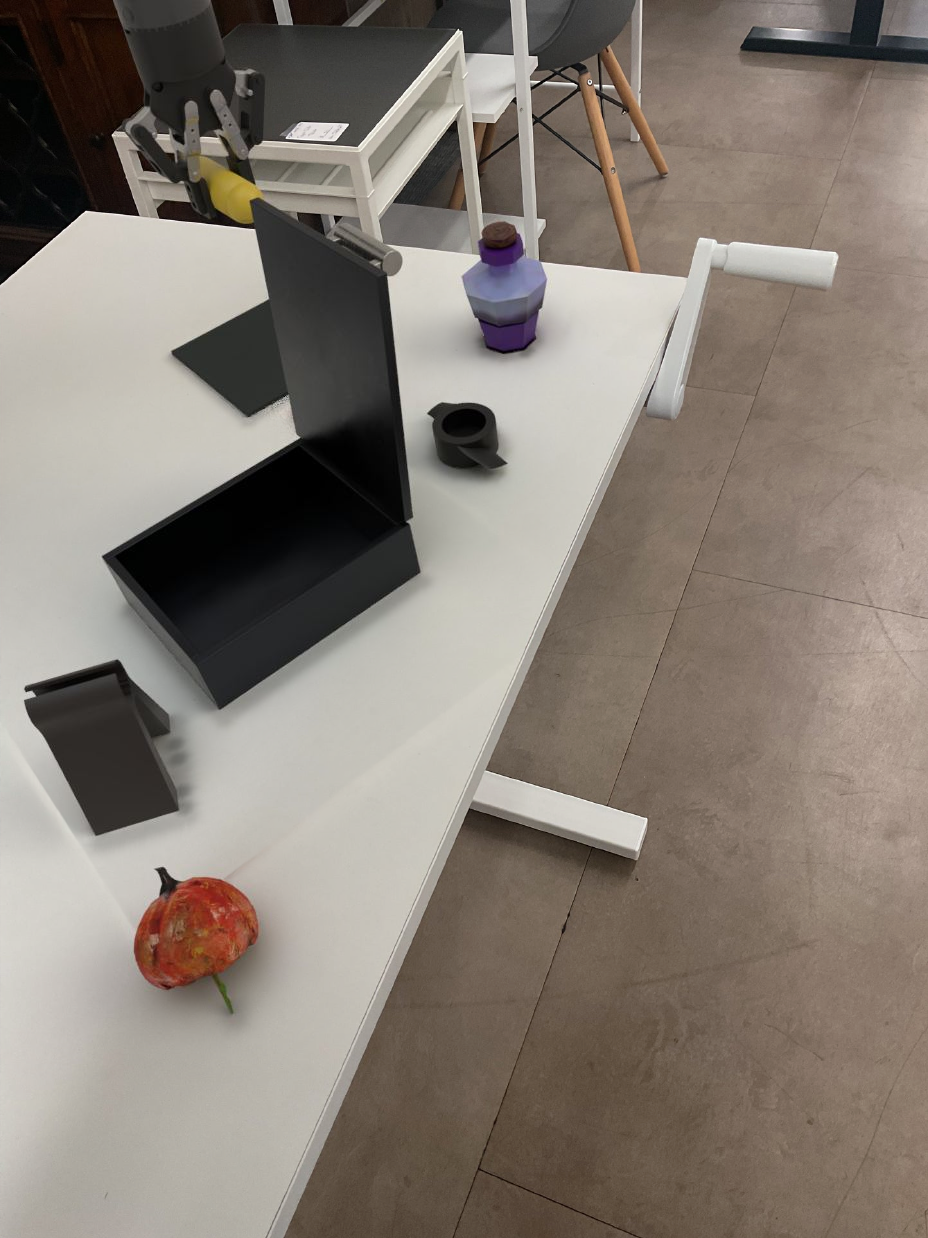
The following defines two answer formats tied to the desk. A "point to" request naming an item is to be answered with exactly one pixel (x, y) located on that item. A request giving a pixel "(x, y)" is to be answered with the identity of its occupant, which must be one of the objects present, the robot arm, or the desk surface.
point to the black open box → (263, 568)
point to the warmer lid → (338, 347)
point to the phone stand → (105, 744)
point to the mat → (240, 360)
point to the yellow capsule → (229, 191)
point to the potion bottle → (505, 289)
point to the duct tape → (466, 435)
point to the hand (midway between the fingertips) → (226, 205)
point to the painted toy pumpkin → (193, 932)
